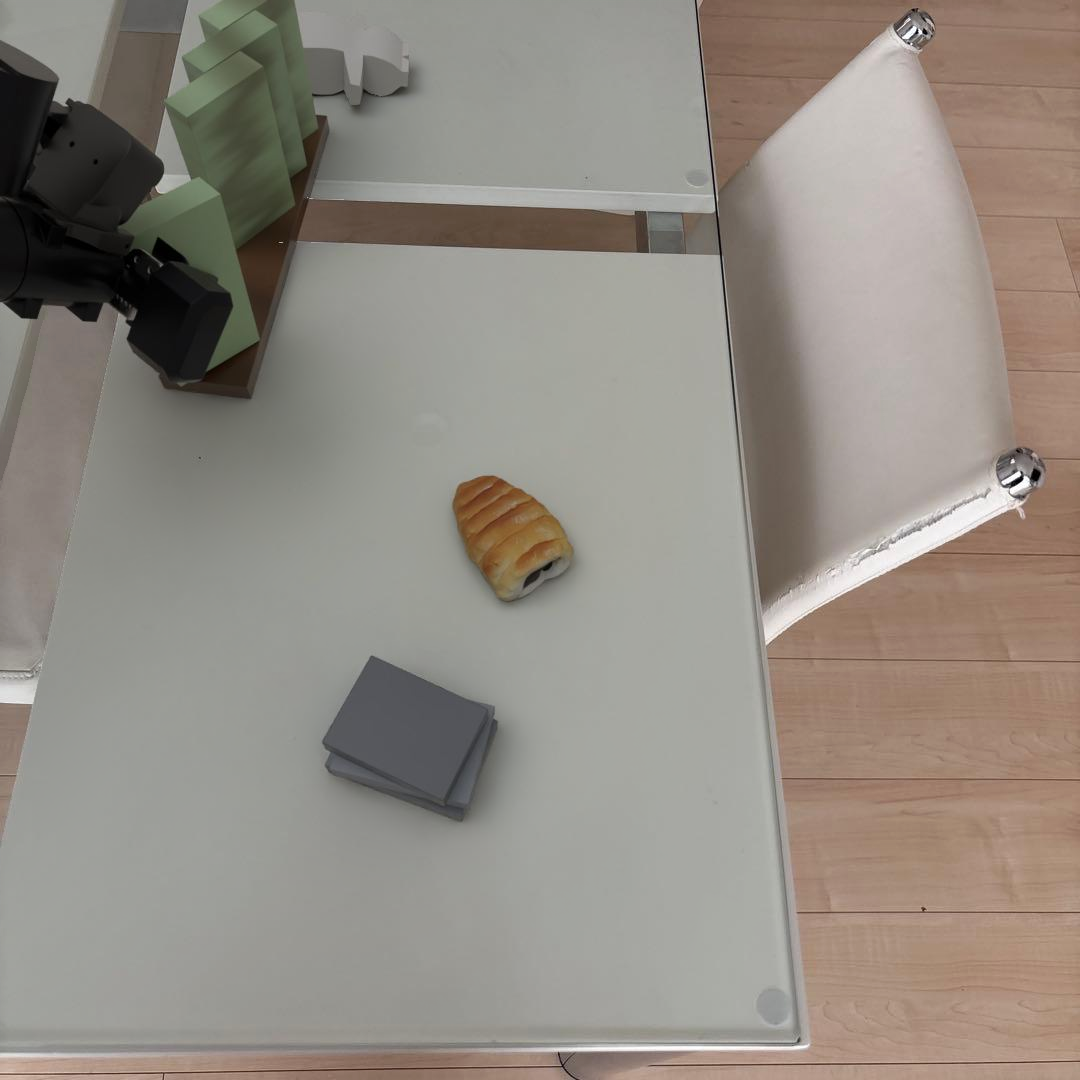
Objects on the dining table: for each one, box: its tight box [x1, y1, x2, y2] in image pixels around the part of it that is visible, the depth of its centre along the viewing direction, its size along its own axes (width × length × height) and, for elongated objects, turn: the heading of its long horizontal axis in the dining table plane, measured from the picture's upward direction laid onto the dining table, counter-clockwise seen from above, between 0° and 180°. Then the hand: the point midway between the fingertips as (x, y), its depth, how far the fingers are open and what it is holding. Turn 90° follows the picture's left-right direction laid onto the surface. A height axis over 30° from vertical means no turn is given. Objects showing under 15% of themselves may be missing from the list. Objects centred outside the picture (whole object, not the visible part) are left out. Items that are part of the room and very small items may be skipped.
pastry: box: [451, 474, 574, 602], centre depth 67 cm, size 9×7×4 cm
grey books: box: [321, 655, 498, 823], centre depth 59 cm, size 9×7×5 cm
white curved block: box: [297, 10, 410, 106], centre depth 86 cm, size 10×5×15 cm
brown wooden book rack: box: [158, 0, 330, 400], centre depth 72 cm, size 29×7×14 cm, turn 174°
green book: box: [118, 177, 260, 386], centre depth 66 cm, size 7×2×13 cm, turn 135°
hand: (200, 272), depth 66 cm, fingers closed on green book, 3 cm apart
